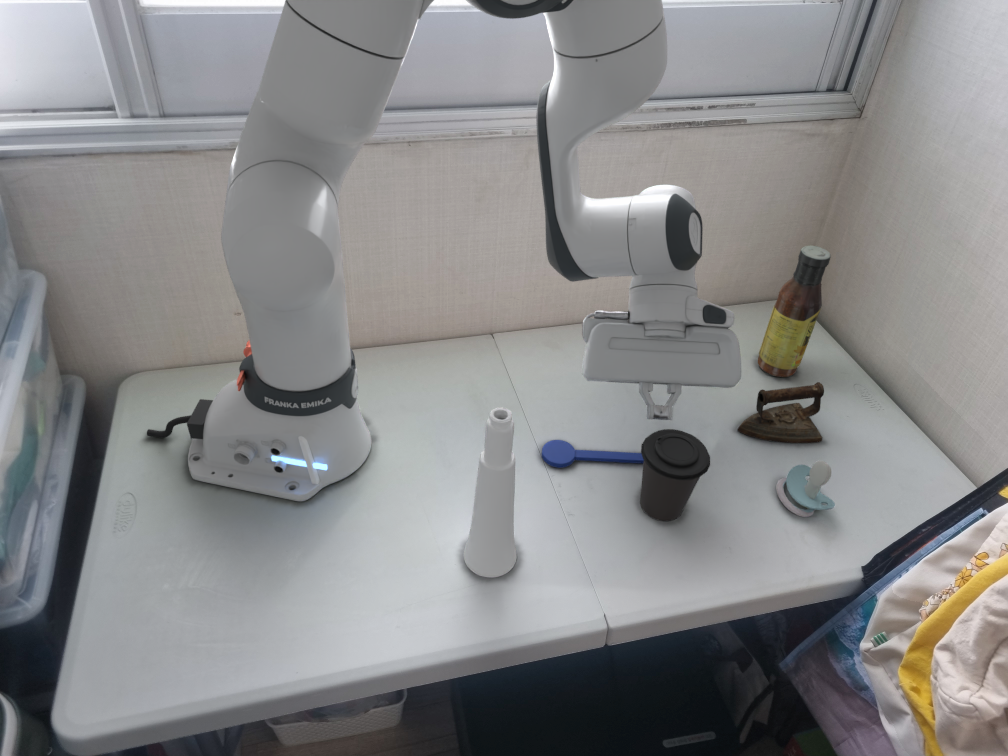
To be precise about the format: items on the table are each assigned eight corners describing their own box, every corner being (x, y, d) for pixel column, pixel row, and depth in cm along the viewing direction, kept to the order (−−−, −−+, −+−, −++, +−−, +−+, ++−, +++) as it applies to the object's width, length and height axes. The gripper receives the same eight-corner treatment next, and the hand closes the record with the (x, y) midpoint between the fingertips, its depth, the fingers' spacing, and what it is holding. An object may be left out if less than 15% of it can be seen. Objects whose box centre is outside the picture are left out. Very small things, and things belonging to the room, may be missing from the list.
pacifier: (790, 524, 94) (836, 519, 95) (804, 490, 90) (852, 485, 91) (766, 479, 99) (809, 475, 100) (778, 445, 95) (823, 441, 96)
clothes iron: (825, 443, 106) (837, 397, 98) (746, 463, 106) (752, 419, 98) (802, 406, 110) (812, 359, 103) (727, 425, 110) (731, 379, 103)
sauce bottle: (799, 382, 115) (845, 269, 102) (757, 376, 116) (797, 262, 103) (793, 356, 120) (836, 244, 107) (753, 350, 121) (791, 238, 108)
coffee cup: (626, 477, 98) (639, 420, 92) (689, 482, 98) (707, 425, 92) (631, 527, 92) (646, 470, 85) (698, 532, 92) (718, 475, 85)
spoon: (661, 449, 102) (663, 444, 102) (666, 473, 99) (668, 469, 99) (541, 442, 102) (541, 438, 101) (541, 467, 99) (542, 462, 98)
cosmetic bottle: (502, 586, 84) (516, 445, 70) (454, 565, 86) (458, 423, 72) (524, 547, 89) (542, 406, 75) (478, 527, 90) (486, 386, 76)
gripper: (586, 305, 97) (582, 414, 95) (747, 313, 97) (744, 422, 96) (579, 313, 103) (575, 416, 102) (730, 321, 103) (728, 423, 102)
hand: (659, 419), depth 99 cm, fingers closed
